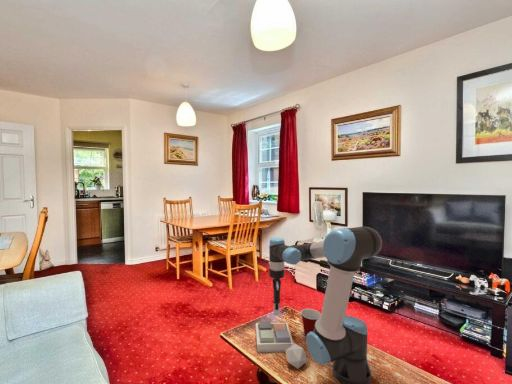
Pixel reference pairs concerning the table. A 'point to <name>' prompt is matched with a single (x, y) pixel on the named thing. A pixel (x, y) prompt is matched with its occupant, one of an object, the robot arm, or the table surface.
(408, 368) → the table surface
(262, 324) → the key charcoal
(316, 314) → the plastic cup
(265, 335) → the key sage
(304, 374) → the table surface
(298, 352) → the die
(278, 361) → the table surface
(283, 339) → the key slate
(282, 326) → the key terracotta
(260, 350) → the keypad
